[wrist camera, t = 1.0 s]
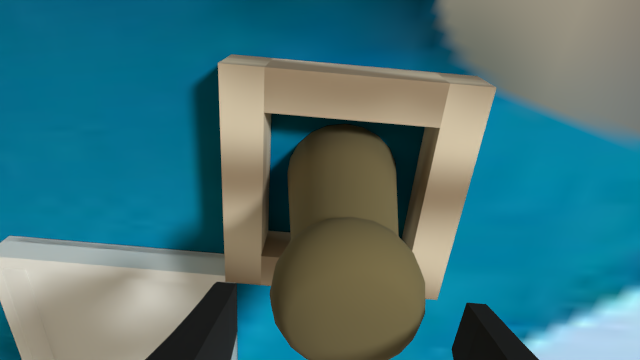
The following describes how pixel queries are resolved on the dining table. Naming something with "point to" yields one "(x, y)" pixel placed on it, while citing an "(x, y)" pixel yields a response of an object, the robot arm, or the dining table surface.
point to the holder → (348, 104)
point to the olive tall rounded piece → (346, 252)
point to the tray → (99, 296)
